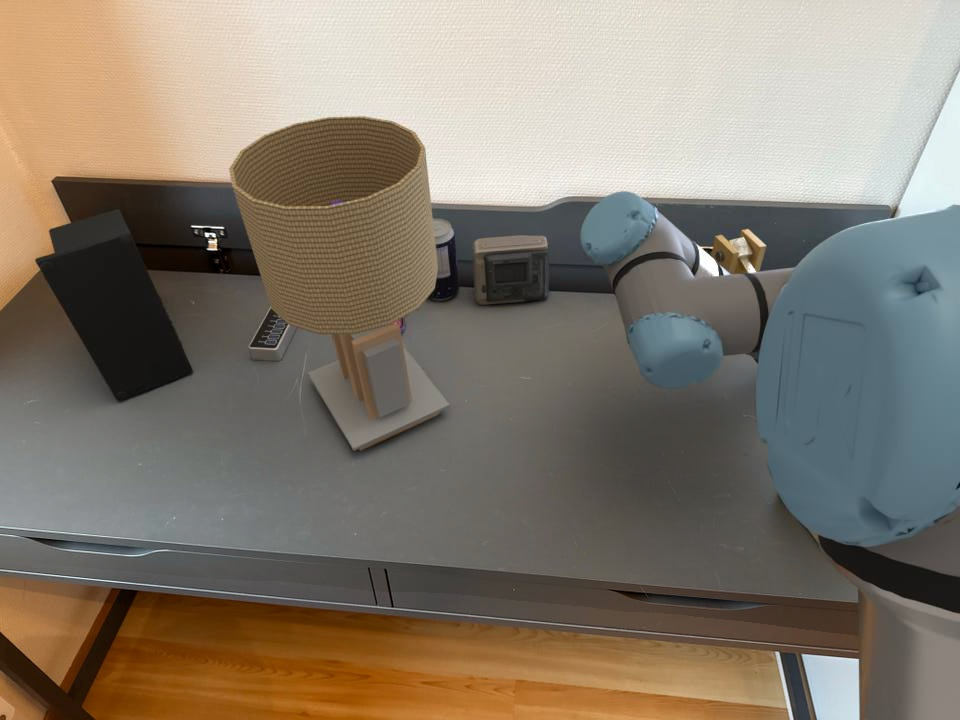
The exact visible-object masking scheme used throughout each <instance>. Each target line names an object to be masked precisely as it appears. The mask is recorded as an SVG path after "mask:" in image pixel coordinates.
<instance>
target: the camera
mask: <svg viewBox="0 0 960 720" xmlns="http://www.w3.org/2000/svg"><path fill="white" fill-rule="evenodd" d="M471 250H472V252H473V256H472V270H473V271H472V273H473V284H474V293H475V300H476V302H477V303H478V304H479V305H481V306H482V305H496V304H497V305H498V304H507V303H520V302H521V303H523V302H528V301H540V300H548V298H549V296H550V244H549V240H548V239H547V237H546V236H544V235H525V234H524V235H523V234H520V235H506V236H496V237H495V236H494V237H484V238H477V239H476V240H475V241H474V242H473V243H472V244H471Z"/></svg>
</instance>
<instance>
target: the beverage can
mask: <svg viewBox="0 0 960 720" xmlns="http://www.w3.org/2000/svg"><path fill="white" fill-rule="evenodd" d="M433 226H434V235H435V245H436V254H437V263H438V272H437V278H436V284H435V289H434V291H433V292H432V293H431V294H430V295H429V296H428V298H431V299H432V300H435V301H446V300H449V299H451V298H452V297H454V295H456V294H457V293H458V292H459V290H460V282H459V280H460V279H459V269H458V258H457V247H456V234H455V231H454V229H453V228H452V225H451V223H450V221H448V220H446V219H443V218H433Z"/></svg>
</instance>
